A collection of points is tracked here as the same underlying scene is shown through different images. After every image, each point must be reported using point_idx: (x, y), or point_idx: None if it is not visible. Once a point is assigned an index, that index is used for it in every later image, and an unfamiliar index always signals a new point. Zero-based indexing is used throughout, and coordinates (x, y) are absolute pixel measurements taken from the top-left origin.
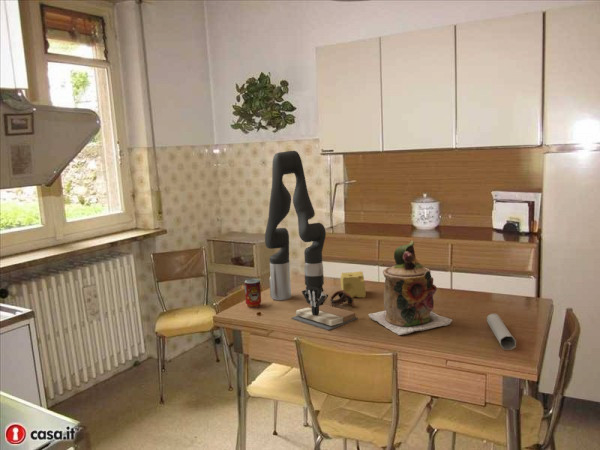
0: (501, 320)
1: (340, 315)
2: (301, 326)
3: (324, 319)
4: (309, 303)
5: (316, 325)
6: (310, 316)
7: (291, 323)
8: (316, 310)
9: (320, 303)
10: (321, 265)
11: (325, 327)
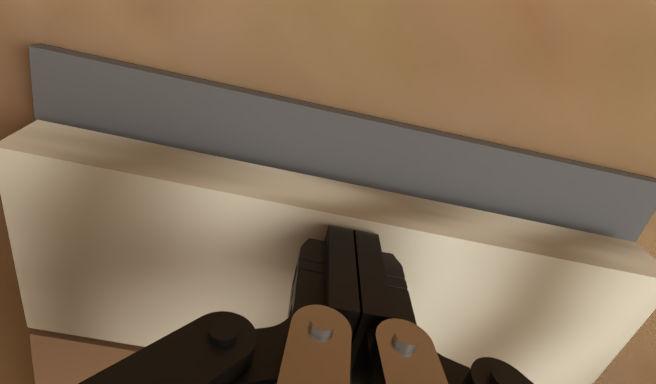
0: None
1: (103, 361)
2: (434, 15)
3: (134, 169)
4: (470, 367)
5: (248, 93)
6: (404, 215)
7: (610, 49)
8: (300, 277)
9: (119, 368)
10: None
11: (107, 82)
